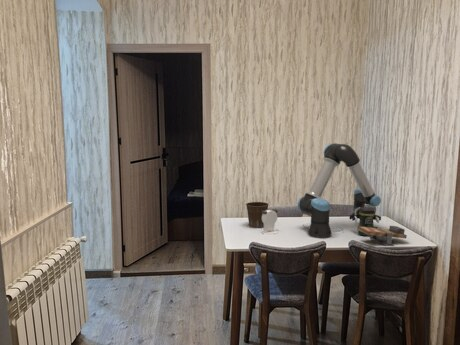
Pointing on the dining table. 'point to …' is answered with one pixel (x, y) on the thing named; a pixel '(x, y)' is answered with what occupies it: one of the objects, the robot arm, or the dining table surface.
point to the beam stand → (383, 239)
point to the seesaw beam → (384, 231)
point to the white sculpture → (269, 221)
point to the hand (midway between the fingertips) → (367, 220)
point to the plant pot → (256, 213)
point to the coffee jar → (366, 218)
